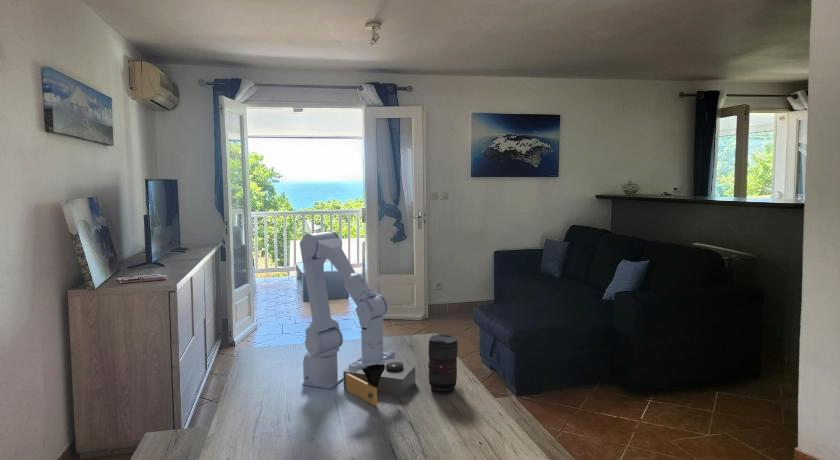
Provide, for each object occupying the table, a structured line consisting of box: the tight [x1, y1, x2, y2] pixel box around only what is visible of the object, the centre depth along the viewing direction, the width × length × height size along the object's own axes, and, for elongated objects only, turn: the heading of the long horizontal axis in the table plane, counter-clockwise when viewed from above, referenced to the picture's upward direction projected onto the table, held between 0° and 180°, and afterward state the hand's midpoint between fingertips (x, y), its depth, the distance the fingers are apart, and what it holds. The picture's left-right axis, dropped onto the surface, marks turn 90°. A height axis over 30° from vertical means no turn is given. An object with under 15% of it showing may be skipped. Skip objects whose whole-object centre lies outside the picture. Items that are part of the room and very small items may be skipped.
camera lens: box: [427, 333, 459, 395], centre depth 146 cm, size 8×8×15 cm
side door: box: [345, 373, 378, 406], centre depth 141 cm, size 14×1×5 cm, turn 42°
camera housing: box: [342, 361, 416, 398], centre depth 149 cm, size 18×10×6 cm, turn 71°
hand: (373, 390), depth 139 cm, fingers closed
